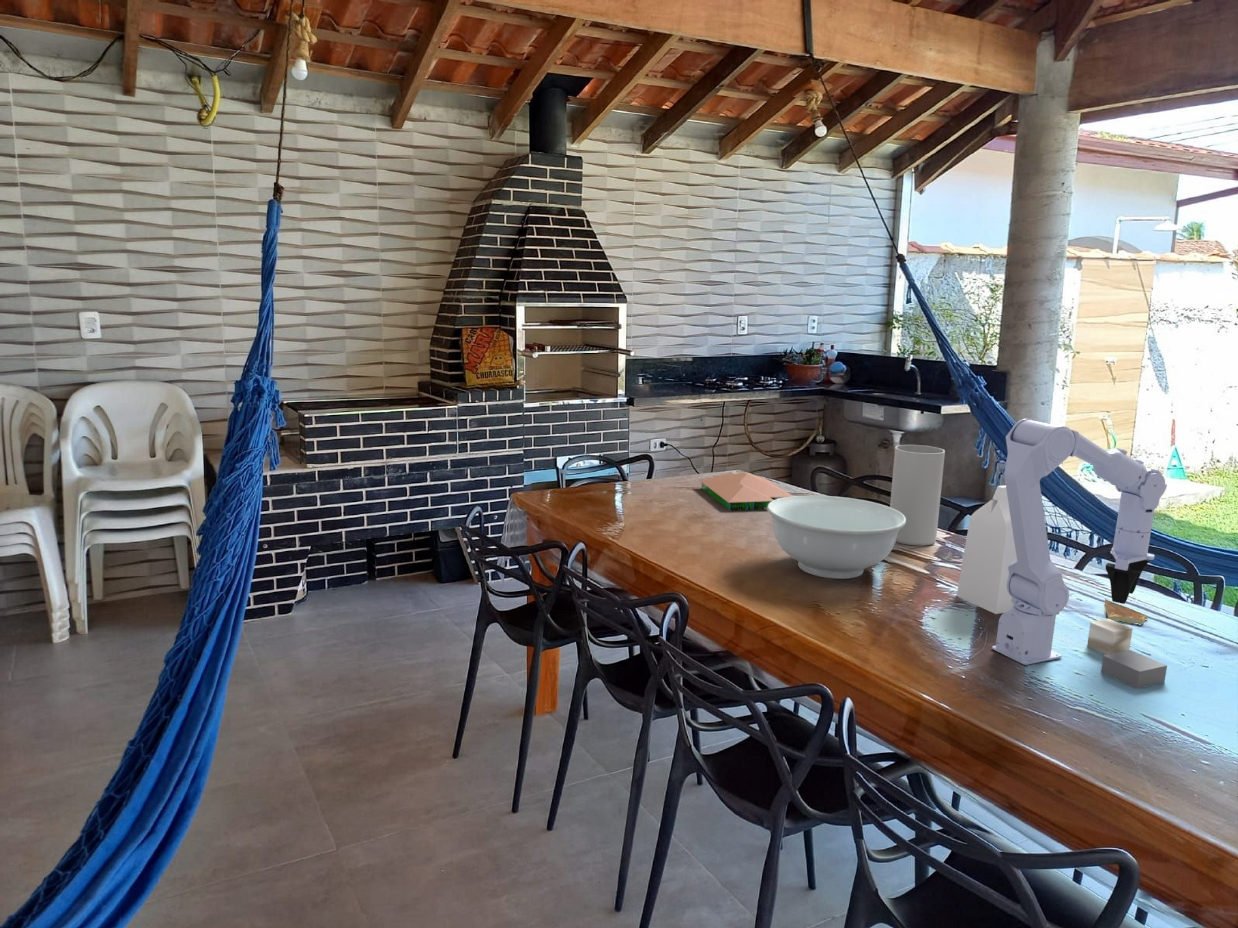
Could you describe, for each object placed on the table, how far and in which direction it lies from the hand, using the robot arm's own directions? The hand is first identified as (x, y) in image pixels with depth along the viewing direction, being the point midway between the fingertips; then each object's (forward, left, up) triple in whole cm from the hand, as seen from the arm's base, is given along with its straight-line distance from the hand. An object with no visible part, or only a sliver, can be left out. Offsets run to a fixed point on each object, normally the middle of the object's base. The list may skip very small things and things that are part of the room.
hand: (1122, 597), depth 167 cm
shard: (+14, +10, -10) cm, 20 cm away
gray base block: (-11, -12, -10) cm, 19 cm away
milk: (-4, +25, -10) cm, 28 cm away
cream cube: (-4, -2, -10) cm, 10 cm away
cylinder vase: (+11, +69, -10) cm, 71 cm away
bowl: (-25, +56, -10) cm, 63 cm away
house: (-7, +125, -10) cm, 126 cm away
